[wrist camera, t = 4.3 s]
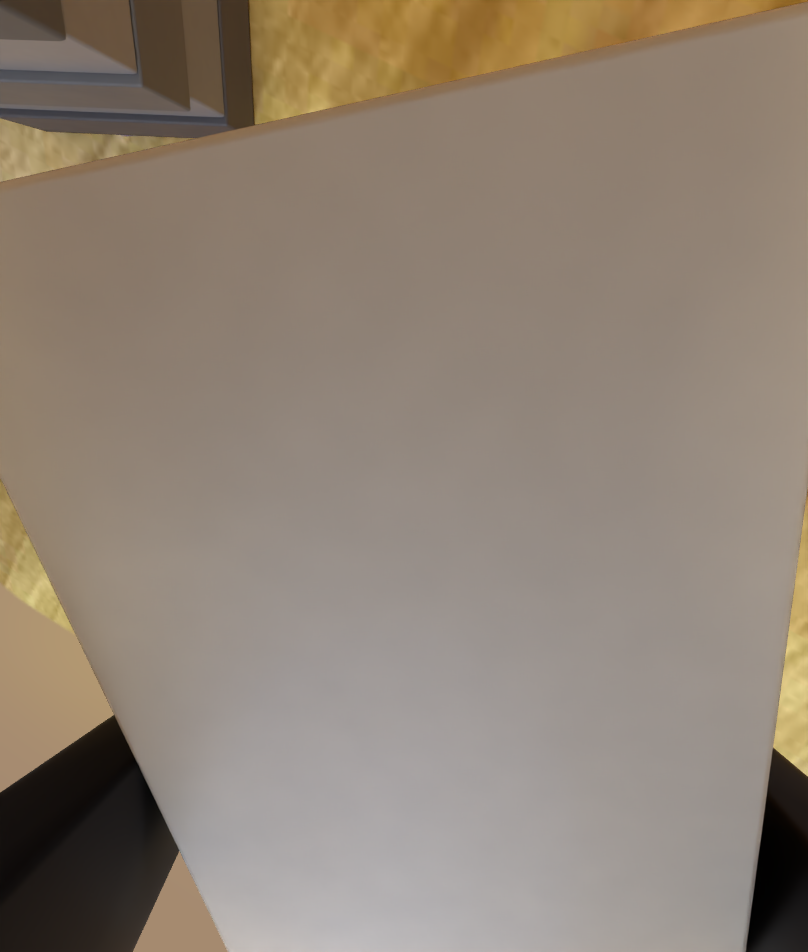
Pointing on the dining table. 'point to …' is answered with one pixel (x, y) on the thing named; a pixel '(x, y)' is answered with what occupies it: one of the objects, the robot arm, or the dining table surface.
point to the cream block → (439, 490)
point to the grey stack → (126, 66)
